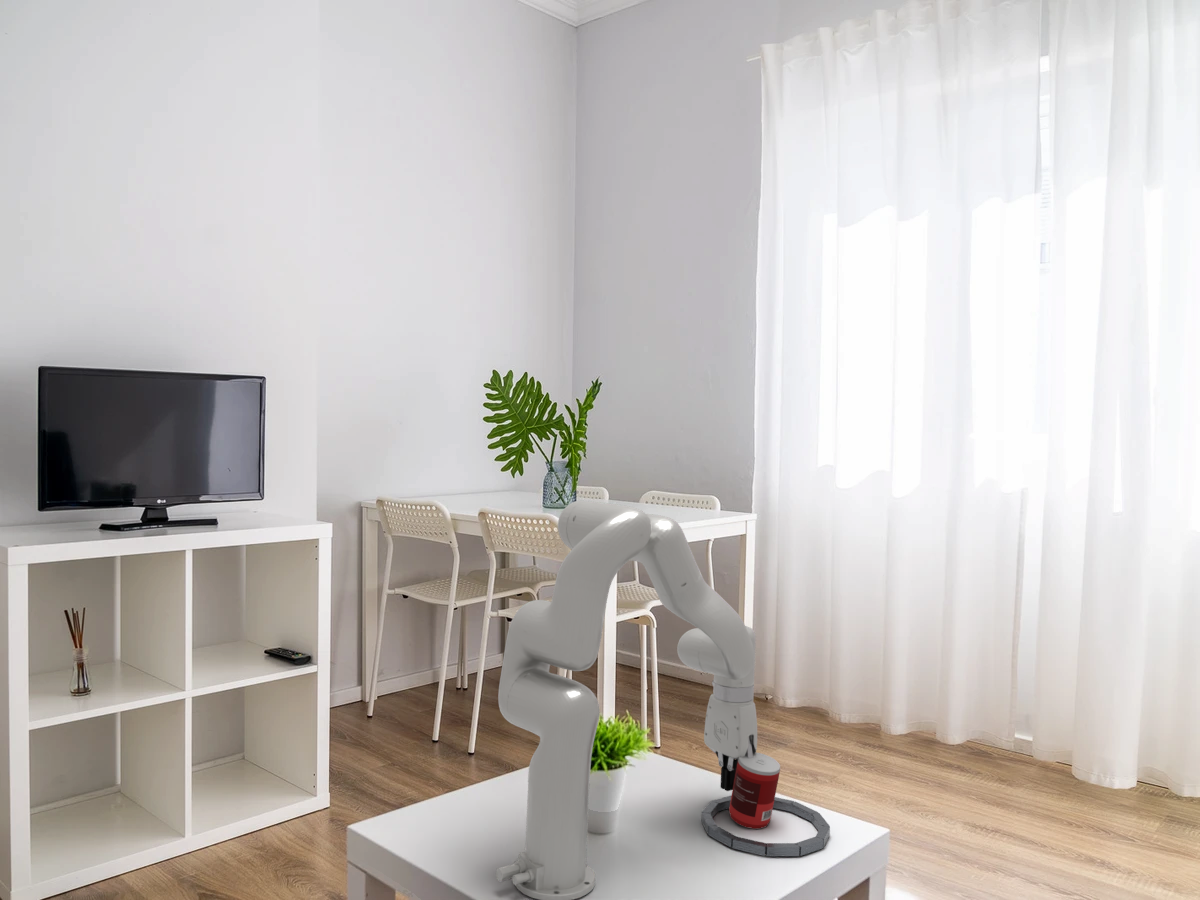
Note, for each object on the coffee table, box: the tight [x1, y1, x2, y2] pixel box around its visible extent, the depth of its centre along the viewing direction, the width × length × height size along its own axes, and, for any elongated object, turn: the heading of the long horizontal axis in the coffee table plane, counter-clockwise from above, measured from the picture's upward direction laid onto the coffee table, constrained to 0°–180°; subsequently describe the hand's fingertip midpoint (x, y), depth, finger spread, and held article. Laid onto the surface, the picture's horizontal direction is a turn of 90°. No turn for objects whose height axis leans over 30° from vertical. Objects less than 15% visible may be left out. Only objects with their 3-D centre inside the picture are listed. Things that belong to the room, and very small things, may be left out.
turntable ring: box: [700, 794, 831, 857], centre depth 166 cm, size 22×22×3 cm
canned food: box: [728, 752, 781, 830], centre depth 169 cm, size 8×8×11 cm
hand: (729, 788), depth 174 cm, fingers closed
